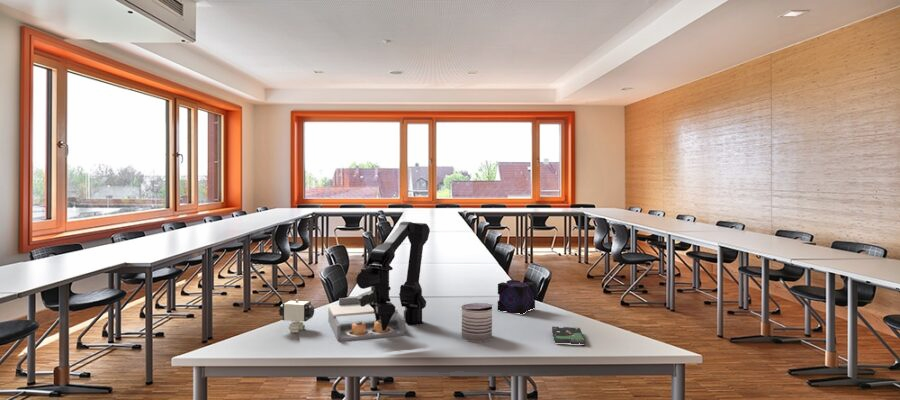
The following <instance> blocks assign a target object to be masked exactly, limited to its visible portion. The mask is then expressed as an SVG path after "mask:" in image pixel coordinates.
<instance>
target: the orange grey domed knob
mask: <svg viewBox="0 0 900 400" xmlns="http://www.w3.org/2000/svg"><path fill="white" fill-rule="evenodd" d="M366 323H367V322H363V321H360V320H359V321H358V320H357V321H355V322H353V323H351V324H352V335H364V334H366Z"/></svg>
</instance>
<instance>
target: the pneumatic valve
mask: <svg viewBox="0 0 900 400" xmlns="http://www.w3.org/2000/svg"><path fill="white" fill-rule="evenodd" d="M278 314H279V316H280V317H281V318H282V321H284V322H285V321H288V322H290V321H291V323H289V325H288V329H289V333H291V334H298V333H299V331H304V330H305V328H306V326H305V324H304V322H307V321H309V320H310V319H312V318H313V317H314V315H315V306H314V305H312V301H307V300H305V301H303V300H299V299H298V298H297V299H295V300H287V301H285V302H282V304H281V305H280V306H279V309H278Z"/></svg>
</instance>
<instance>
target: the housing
mask: <svg viewBox="0 0 900 400" xmlns="http://www.w3.org/2000/svg"><path fill="white" fill-rule="evenodd" d="M327 308H328V317H327V318H328V320H327V321H328V323H329V326H330V328H331V330H332V332H333V334H334V337H335V340H337V341H338V342H348V341H358V340H359V341H361V340H368V339H379V338H389V337H390V338H391V337H397V336H398V337H400V336H404V335H406V323H405V319H404V316H403V315H402V314H401V313H399V311H398V312H394V314H393V315H392V317H391V319H390V321H389V324H388V332H386V333H375V332H374V322H375V321H374V322H365V323H366V334H364V335H352V324H353V323H351V324H340V322H339V320H338V319H337V317H333V315H332V313H331V311H330V309H329V307H327Z"/></svg>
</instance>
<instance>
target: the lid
mask: <svg viewBox="0 0 900 400" xmlns="http://www.w3.org/2000/svg"><path fill="white" fill-rule="evenodd" d="M328 308H329V309H330V311H331V313H332V315H333V317H336V318H337V317H338V318H339V317H347V316H358V315H359V316H360V315H361V316H362V315H372V314H373V315H375V313H374V309H373V308H372V307H371V306H370V305H369V304H367V305H365V306H363V307H361V306H360V304H359V302H358V299H357V296H355V297H353V296H352V297H339V298H338V304H332V305H330V304H329V305H328ZM395 312H398V313H399V309H398V307H396V306H395Z"/></svg>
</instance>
